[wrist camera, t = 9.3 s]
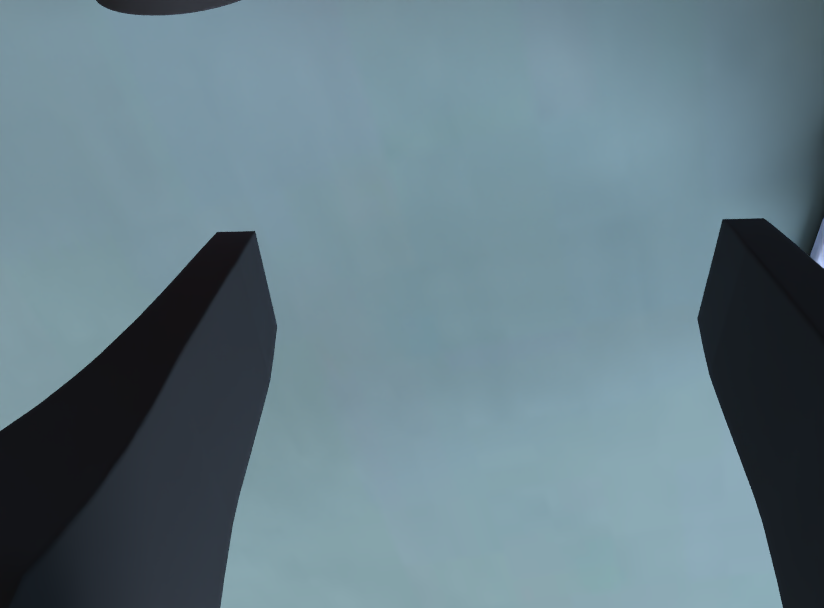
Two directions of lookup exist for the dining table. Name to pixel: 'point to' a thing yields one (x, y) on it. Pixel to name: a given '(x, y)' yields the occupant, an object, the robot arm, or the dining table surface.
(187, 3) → the cart wheels
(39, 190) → the dining table surface
